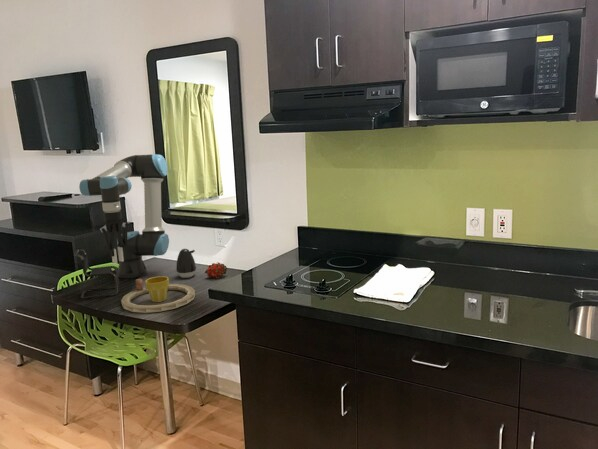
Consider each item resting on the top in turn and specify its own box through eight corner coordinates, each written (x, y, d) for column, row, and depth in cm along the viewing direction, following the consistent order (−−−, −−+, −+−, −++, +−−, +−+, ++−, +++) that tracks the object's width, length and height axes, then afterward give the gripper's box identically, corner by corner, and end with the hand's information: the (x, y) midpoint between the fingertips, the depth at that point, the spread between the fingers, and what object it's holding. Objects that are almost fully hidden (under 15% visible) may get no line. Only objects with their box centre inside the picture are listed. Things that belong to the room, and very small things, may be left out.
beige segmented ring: (108, 303, 222) (106, 288, 221) (165, 283, 247) (164, 270, 245) (151, 317, 203) (149, 301, 201) (209, 295, 227) (207, 280, 226)
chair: (82, 291, 241) (76, 248, 236) (119, 287, 246) (114, 244, 241) (79, 300, 229) (73, 255, 224) (118, 295, 234) (113, 250, 229)
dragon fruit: (229, 278, 257) (207, 285, 253) (225, 266, 262) (203, 272, 259) (228, 269, 250) (205, 275, 247) (224, 256, 256) (201, 263, 252)
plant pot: (146, 298, 228) (143, 278, 226) (168, 294, 232) (166, 274, 230) (148, 305, 218) (146, 284, 216) (172, 301, 222) (170, 280, 220)
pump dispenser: (194, 279, 253) (192, 250, 250) (174, 279, 254) (172, 251, 251) (199, 273, 263) (196, 246, 260) (179, 274, 264) (177, 246, 261)
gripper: (100, 214, 209) (107, 267, 214) (132, 208, 221) (137, 258, 226) (91, 213, 214) (97, 265, 219) (122, 207, 226) (128, 256, 231)
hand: (118, 261), depth 222 cm, fingers open, 3 cm apart
